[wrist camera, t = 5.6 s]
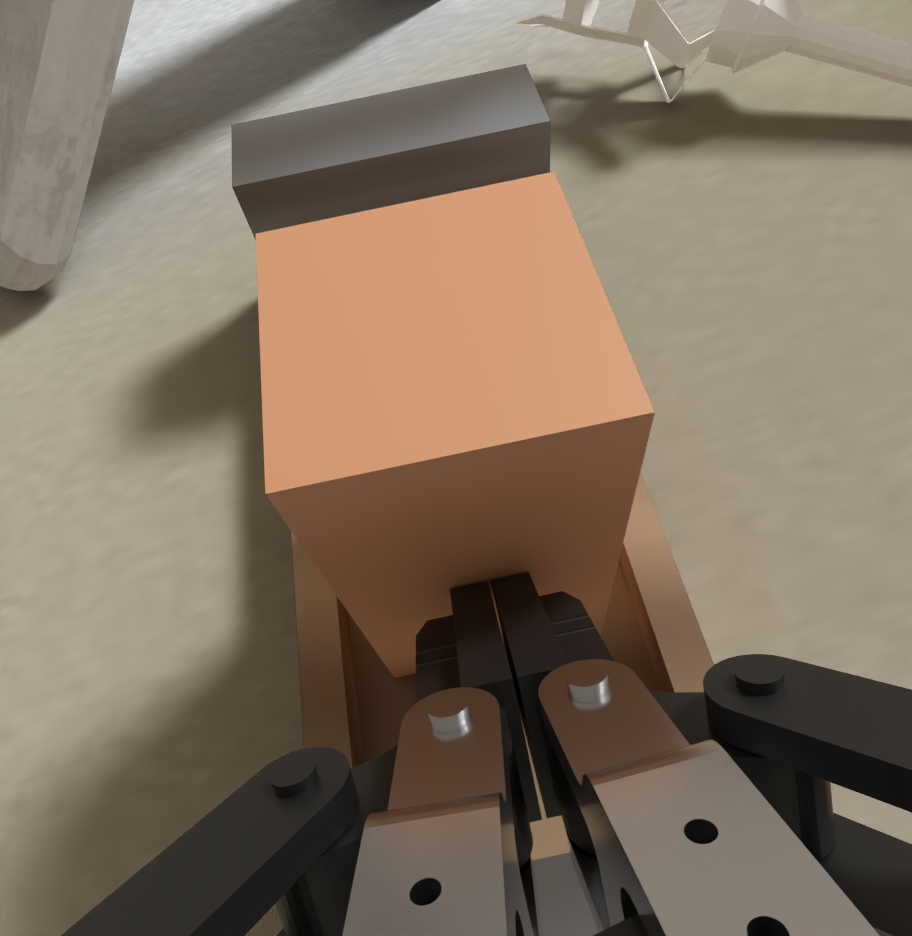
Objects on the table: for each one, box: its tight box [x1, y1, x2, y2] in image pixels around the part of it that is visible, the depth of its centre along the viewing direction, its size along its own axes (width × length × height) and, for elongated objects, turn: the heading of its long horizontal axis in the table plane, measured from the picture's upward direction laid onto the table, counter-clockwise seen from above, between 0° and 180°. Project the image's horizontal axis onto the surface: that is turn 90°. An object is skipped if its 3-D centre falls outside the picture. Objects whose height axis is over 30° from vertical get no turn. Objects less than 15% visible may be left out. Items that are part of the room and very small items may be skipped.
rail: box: [232, 64, 714, 936], centre depth 18 cm, size 22×9×6 cm, turn 10°
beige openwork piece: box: [518, 0, 912, 103], centre depth 27 cm, size 6×9×25 cm
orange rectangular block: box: [256, 172, 655, 678], centre depth 14 cm, size 5×5×9 cm
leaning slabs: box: [0, 0, 134, 291], centre depth 29 cm, size 8×25×23 cm
